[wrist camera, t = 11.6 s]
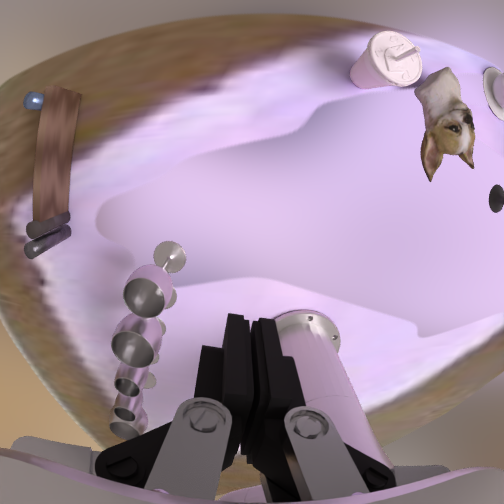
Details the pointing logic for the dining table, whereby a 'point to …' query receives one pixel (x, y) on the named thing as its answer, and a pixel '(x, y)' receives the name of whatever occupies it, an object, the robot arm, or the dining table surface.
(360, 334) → the dining table surface
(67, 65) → the dining table surface
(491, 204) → the sundae
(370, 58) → the smoothie
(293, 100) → the dining table surface
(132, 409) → the goblet set
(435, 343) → the dining table surface
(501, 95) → the teacup
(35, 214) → the gate
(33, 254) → the grey upright cylinders
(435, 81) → the ceramic sculpture
